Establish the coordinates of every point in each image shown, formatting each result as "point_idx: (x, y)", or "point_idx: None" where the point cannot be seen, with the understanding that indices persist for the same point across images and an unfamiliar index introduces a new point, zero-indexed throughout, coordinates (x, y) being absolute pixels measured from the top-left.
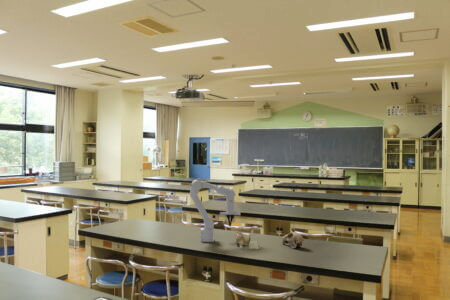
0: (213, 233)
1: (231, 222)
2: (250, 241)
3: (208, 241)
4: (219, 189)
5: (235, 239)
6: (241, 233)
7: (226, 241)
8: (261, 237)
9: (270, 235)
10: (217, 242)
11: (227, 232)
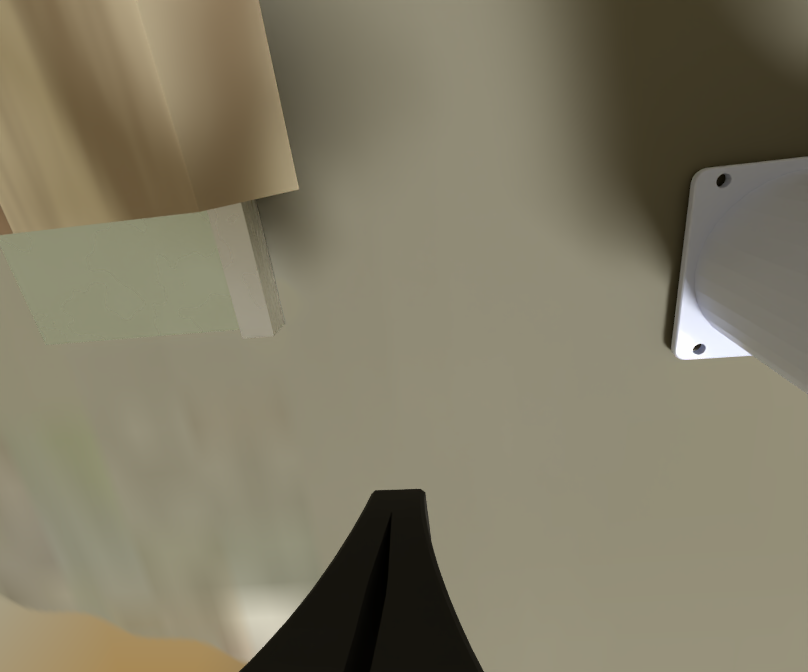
0: (780, 285)
1: (338, 553)
2: (110, 293)
3: (806, 156)
4: None
5: (274, 108)
6: (116, 213)
7: (467, 261)
8: (61, 512)
9: (5, 589)
10: (622, 167)
11: (482, 666)
